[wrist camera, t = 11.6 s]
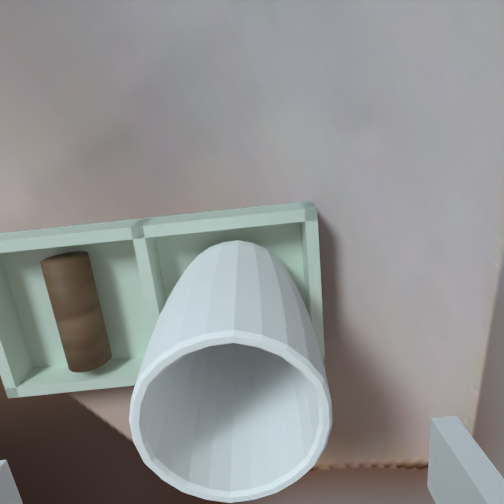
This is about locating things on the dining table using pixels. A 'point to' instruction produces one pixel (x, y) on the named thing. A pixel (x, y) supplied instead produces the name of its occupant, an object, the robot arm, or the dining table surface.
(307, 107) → the dining table surface
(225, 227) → the caddy
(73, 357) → the dowel
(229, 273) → the cup
